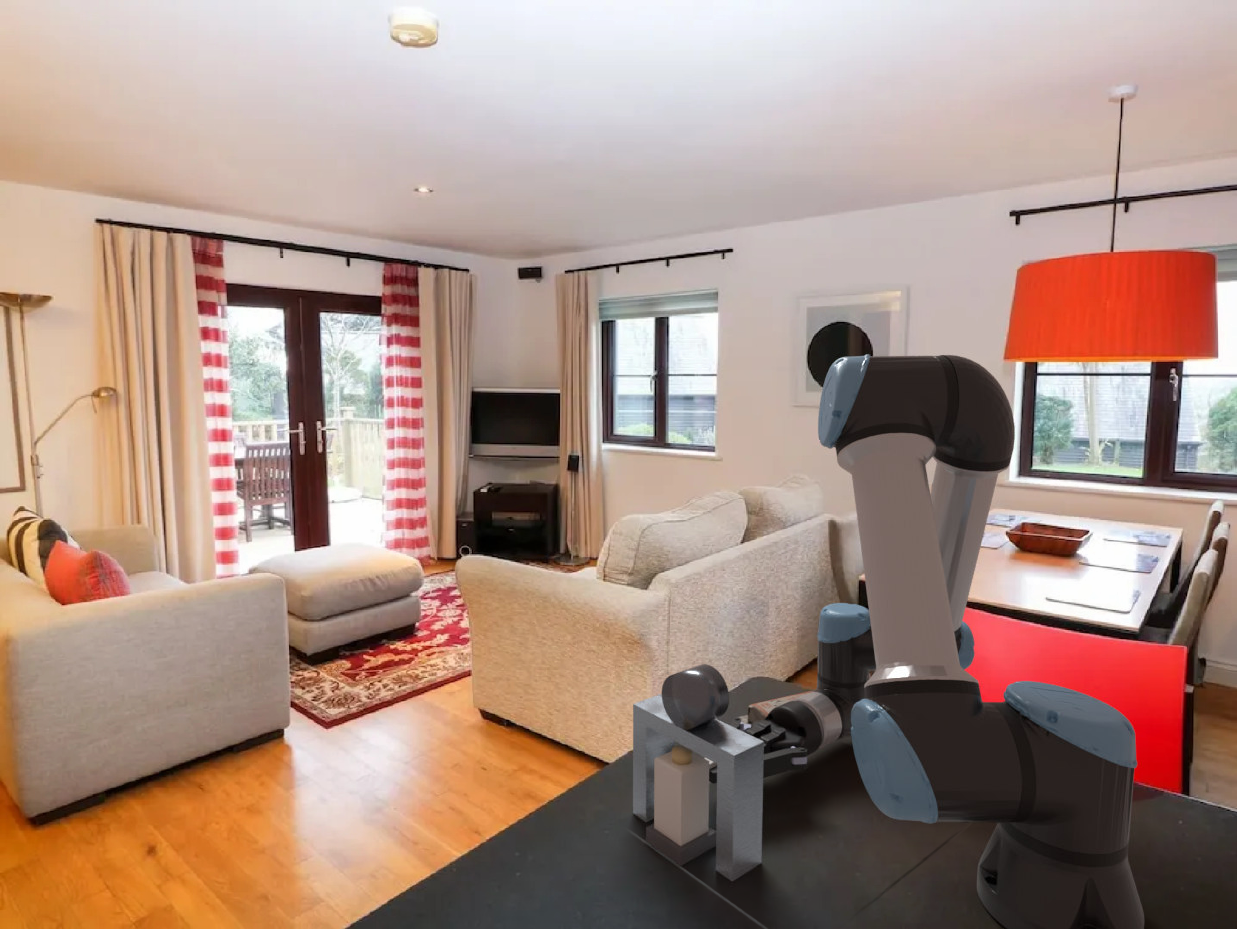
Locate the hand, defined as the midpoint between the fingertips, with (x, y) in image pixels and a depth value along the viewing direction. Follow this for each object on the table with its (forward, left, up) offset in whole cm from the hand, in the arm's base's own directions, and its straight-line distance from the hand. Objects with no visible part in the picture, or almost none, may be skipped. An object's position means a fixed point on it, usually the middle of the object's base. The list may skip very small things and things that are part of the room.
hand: (684, 781), depth 91 cm
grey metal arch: (-2, 0, -6) cm, 7 cm away
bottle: (-2, +3, -6) cm, 7 cm away
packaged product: (+8, -34, -7) cm, 36 cm away
